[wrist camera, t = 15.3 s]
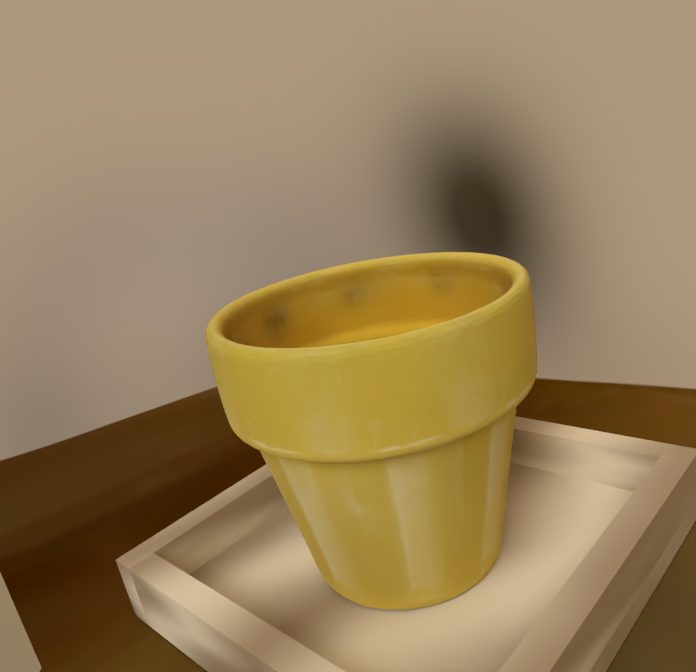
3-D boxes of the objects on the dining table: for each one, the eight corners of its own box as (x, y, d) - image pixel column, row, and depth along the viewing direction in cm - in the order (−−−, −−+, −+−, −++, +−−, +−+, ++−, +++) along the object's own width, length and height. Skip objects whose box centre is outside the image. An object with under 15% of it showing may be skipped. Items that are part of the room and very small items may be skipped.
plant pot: (603, 499, 24) (581, 240, 21) (473, 716, 16) (410, 363, 13) (379, 454, 30) (338, 253, 27) (214, 595, 23) (133, 340, 20)
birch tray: (135, 615, 24) (115, 559, 23) (389, 434, 34) (380, 391, 33) (479, 884, 13) (462, 799, 13) (701, 510, 23) (699, 449, 23)
